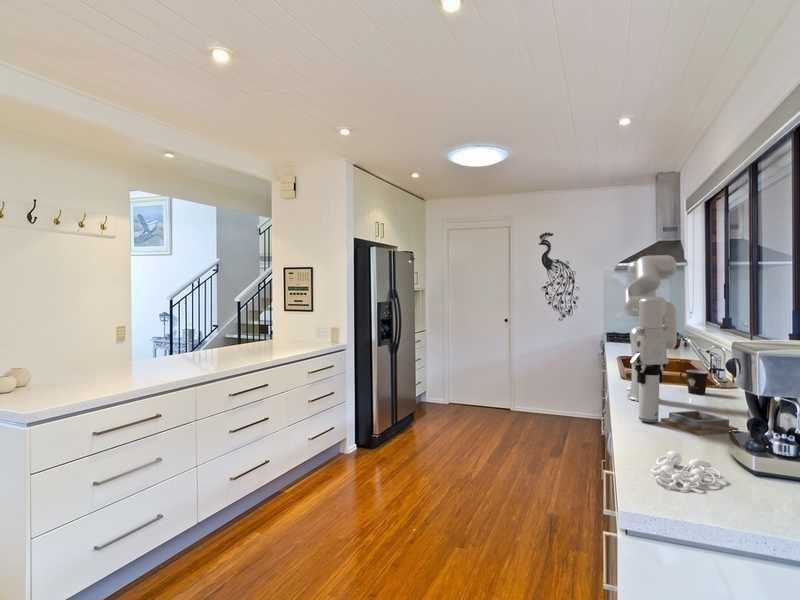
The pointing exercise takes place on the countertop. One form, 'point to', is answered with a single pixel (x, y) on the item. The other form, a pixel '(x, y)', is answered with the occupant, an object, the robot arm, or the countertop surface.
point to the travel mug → (649, 394)
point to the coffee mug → (696, 381)
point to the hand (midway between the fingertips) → (649, 382)
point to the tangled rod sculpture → (682, 471)
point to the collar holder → (698, 422)
